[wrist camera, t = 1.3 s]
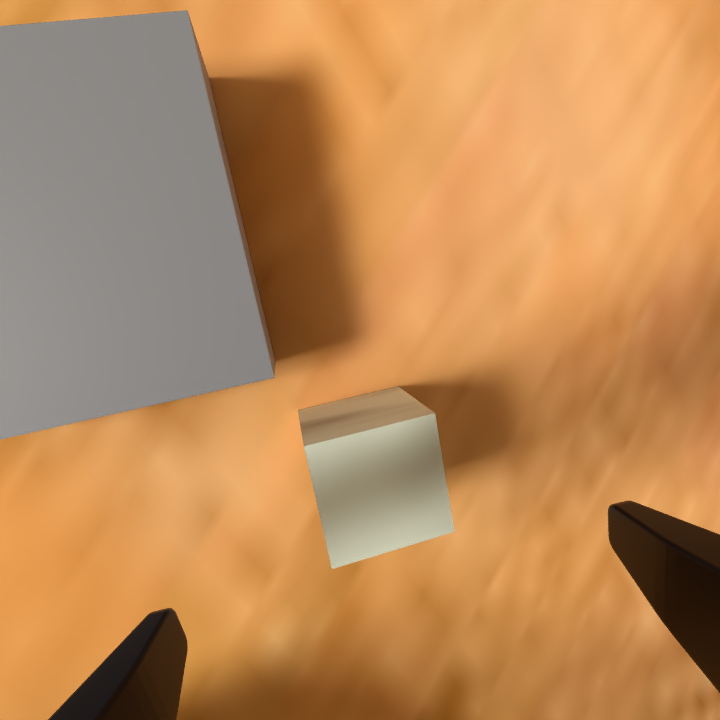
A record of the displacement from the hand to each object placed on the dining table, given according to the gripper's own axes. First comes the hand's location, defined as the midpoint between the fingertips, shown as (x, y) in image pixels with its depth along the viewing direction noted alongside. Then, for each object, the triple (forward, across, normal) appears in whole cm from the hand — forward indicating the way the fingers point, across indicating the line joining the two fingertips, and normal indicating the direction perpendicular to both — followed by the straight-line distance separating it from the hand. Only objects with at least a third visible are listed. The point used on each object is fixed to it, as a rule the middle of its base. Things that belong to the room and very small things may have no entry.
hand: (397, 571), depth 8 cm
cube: (+12, 0, +3) cm, 12 cm away
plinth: (+12, +9, -8) cm, 17 cm away
